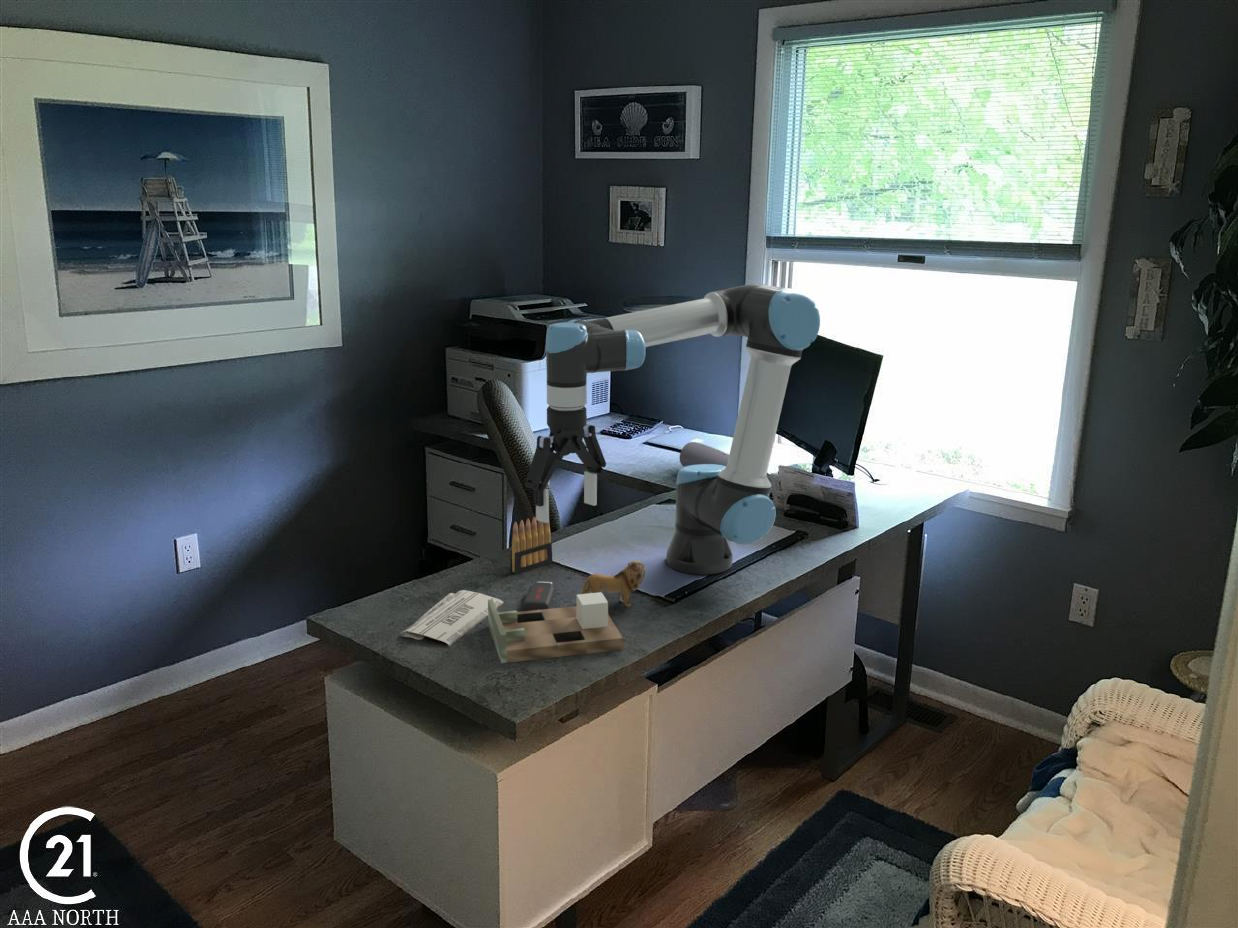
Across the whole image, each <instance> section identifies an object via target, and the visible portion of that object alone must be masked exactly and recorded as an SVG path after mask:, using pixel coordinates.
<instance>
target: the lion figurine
mask: <svg viewBox="0 0 1238 928" xmlns="http://www.w3.org/2000/svg"><path fill="white" fill-rule="evenodd" d="M645 573H646V570H645V563H643V562H642V561H639V560H632V561H630V562H628V563H627V566H626V567H624V568H623V569H622V570H621V571H619V572H618V573H617V574H615V575H608V574H606V575H605V574H603V573H602V574H601V573H593V574H591V575H589V576H587V578H586V579H585V581H584V583H583V586H582V589H581V594H588V593H599V592H601V590H603V591H605V592H607V593H611V594H615V593H619V601H620V602H622V603H623V604H624V606H625V607H626V608H630V607H631V606H632V603H630V602H629V599H630V595H631V592H634V591H637V590H638V589H639V587H640V585H641V584H642V583H643V581H644V579H645V575H646V574H645ZM575 605H576V606H577V602H576V603H575Z"/></svg>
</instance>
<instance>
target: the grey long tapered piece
mask: <svg viewBox="0 0 1238 928" xmlns="http://www.w3.org/2000/svg"><path fill="white" fill-rule="evenodd" d="M729 454H730V453H727V452H724V451H721V450H719V449H717V448H714V447H712V446H710V445H707V444H703V443H701V442H696V441H695V442H694V441H691V442H687V443H685V445H684V446H683V447H682V449H681V450H680V453H679V456H678V457H679V463H680V464H681V466H682V468H683V467H686V466H691V465H699V464H716V465H723V466H726V467H727V463H728V459H729Z"/></svg>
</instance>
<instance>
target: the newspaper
mask: <svg viewBox="0 0 1238 928" xmlns="http://www.w3.org/2000/svg"><path fill="white" fill-rule="evenodd" d="M492 599H493V601H494V604H495V606H496V609H497V610H498V608H499V607H501V606H502V605H503V604H504V600H503V601H502V599H500V598H496V597H493V596H490V595H487V594H484V593H479V592H475V591H470V590H467V589H463V590H459V591H457V592H456V593H453V592H449V593H448V594H447V595H446V596H444V597H443V598H442V599H441V600H440V601H439V602H437V603H436V604H435V605H434V606H433V607H431V608H430V609H429V610H427V611H426V612H425V613H424V614H423V615H422V616H421V617H420V618H419V619H418V620H417V621H416V622H414V623H413V624H411V625H409V627H406V629H405V630H403V631H402V632H401V636H402V637H404V638H412V639H415V640H423V639H424V638H425V637H427V638H430V639H434V640H437V641H439V642H440V641H441V642H443V643H446V644H447V646H448V647H451V646H452V645H453V644H454V643H456V642H457V641H458V640H460V638H462V637H463V636H464V635H466V634H467V633H468V632H470V631H471V630H472V629H473V628H474V627H476V626H477V625H478V624H480V623H481V622H482V621H483V620H484V619H486V618H488V600H492Z"/></svg>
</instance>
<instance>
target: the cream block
mask: <svg viewBox="0 0 1238 928" xmlns="http://www.w3.org/2000/svg"><path fill="white" fill-rule="evenodd" d="M576 603H577V605H576V606H577V610H576V618H577V620H578V622H579V624H580V626H581V627H582V629H588V628H598V627H607V626H608V615H609V602H608V600H607V598H606V597H605V595H604V593H602V592H601V591H600V592H599V593H592V592H591V593H588V594H582V593H579V594H576Z"/></svg>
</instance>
